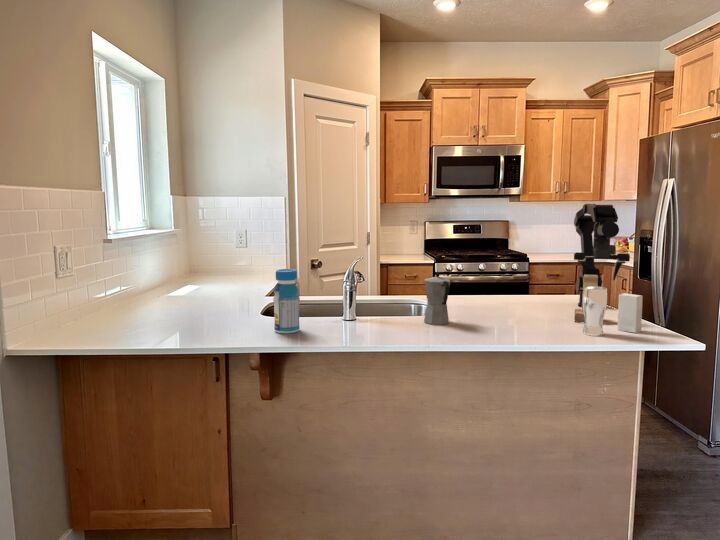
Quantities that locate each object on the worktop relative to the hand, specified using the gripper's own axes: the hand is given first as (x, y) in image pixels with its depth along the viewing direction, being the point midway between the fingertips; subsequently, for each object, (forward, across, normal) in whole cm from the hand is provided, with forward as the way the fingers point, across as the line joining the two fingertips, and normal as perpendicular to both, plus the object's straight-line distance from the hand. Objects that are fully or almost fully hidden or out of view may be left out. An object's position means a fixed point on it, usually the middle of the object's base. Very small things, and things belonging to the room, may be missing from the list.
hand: (600, 279), depth 191 cm
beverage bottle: (+17, -94, -68) cm, 118 cm away
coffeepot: (+16, -52, -38) cm, 66 cm away
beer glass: (+16, -2, -32) cm, 35 cm away
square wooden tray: (+14, -4, -12) cm, 19 cm away
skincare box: (+16, +8, -22) cm, 29 cm away
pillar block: (+11, -4, -12) cm, 17 cm away
